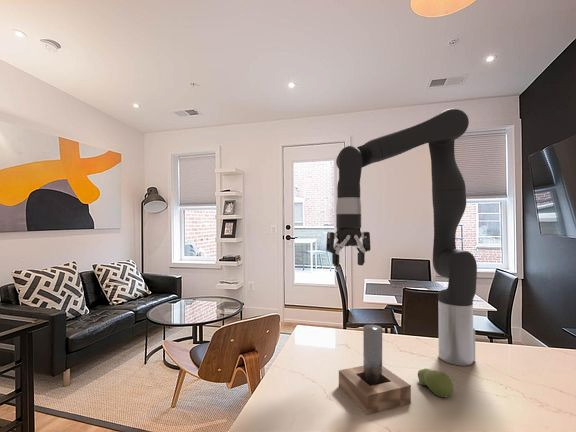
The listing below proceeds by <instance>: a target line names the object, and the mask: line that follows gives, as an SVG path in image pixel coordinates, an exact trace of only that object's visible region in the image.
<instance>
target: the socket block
mask: <svg viewBox="0 0 576 432" xmlns="http://www.w3.org/2000/svg"><path fill="white" fill-rule="evenodd" d="M338 388H339V389H341V390H342V391H343V393H345V394H346V395H347V396H348V397H349V398H350V399H351V401H353V402H354V404H356V406H358V407H359V408H360V409H361V411H363V412H364V413H365V415H370V414H373V413H378V412H381V411H385V410H389V409H393V408H396V407H401V406H403V405H408V404H411V402H412V398H411V397H412V385H411V384H410V383H408V382H407V381H405V380H404V379H403V378H401V377H399V376H398V375H396V373H393V371H391V370H389V369H388V368H387V367H385V366H383V365H382V384H378V385H373V386H369V385H368V384H367V383H366V382H365V381H364V380H363V365H360V366H355V367H349V368H344V369H339V370H338Z"/></svg>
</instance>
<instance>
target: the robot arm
mask: <svg viewBox="0 0 576 432" xmlns="http://www.w3.org/2000/svg"><path fill="white" fill-rule="evenodd" d="M469 122H470V120H469V117H468V114H466V113H465V112H464V110H462V109H459V108H449V109H445V110H443V111H442V112H439V114H436V115H434V116H433V117H431V118H429V119H427V120H425V121H422V122H420V123H417V124H415V125H413V126H410V127H406V128H404V129H401V130H398V131H395V132H392V133H388V134H384V135H383V136H378V137H377V138H374V139H370V140H368V141H367V142H366V143H364V144H362V145H358V146H353V145H346V147H344V148H342V149H341V150H340V151H339V153H338V155H337V156H336V159H335V160H336V162H335V165H336V167H337V169H338V182H337V187H336V191H337V192H336V193H337V194H336V197H337V198H336V209H335V211H336V212H335V213H336V214H335V215H336V216H335V217H336V220H335V223H336V227H335V228H336V232H333V231H327V233H326V249H325V250H326V252H329V253H331V254H332V255H331V261H332V262H331V263H332V265H333V266H334V267H336V268H339V267H340V254H339V253H340V252H341V251H342V249H343V248H344V247H349V246H350V247H354V249H356V251H357V265H358V266H364V264H365V262H366V261H365V258H366V255H365V254H366V253H367V252H370V251H371V233H370V232H369V231H361V228H362V200H361V178H362V177H361V176H362V170H363V168H364V167H367V166H369V165H371V164H374V163H379V162H381V161H385V160H388V159H391V158H393V157H396V156H399V155H401V154H404V153H406V152H409V151H410V150H412V149H416V148H417V147H420V146H423V145H425V144H428V148H429V155H430V163H431V164H430V165H431V167H430V169H431V170H430V171H431V199H432V209H433V210H432V211H433V245H432V266H433V269H434V272H435V273H436V275H439V276H440V277H442V278H446V279H448V283H447V288H445V289H441V290H439V292H438V306H437V307H438V308H437V309H438V358H440V360H442V361H443V362H446V363H448V364H451V365H454V366H455V365H457V366H464V367H465V366H471V365H473V363H474V362H475V361H476V329H475V327H474V298H475V295H476V291H477V281H478V280H477V278H478V265H477V260H476V258H475V256H474V254H472V253H471V252H470V251H468V250H464V249H457V245H456V235H457V234H456V233H457V229H458V227H459V224H460V222H461V220H462V219H463V218H462V217H463V215H464V213H465V211H466V208H467V192H466V190H467V189H466V183H465V179H464V177H463V174H462V172H461V170H460V169H459V167H458V164H457V161H456V156H455V141H456V140H457V139H459V138H461V136H463V134H465V133H466V131H467V129H468V127H469V125H470V123H469ZM335 239H337V240H336V242H335ZM360 239H361V240H362V241H361V240H360Z"/></svg>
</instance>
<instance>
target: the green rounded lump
mask: <svg viewBox="0 0 576 432" xmlns="http://www.w3.org/2000/svg"><path fill="white" fill-rule="evenodd" d="M417 379H418V383H419V385H421V386H427V387H428V388H429V390H430V391H432V393H433V394H435V395H436V396H438V397H440V398H448V397H450V396H452V395H453V393H454V391H455V383H454V381H453V378H451V376H450V375H448V374H447V373H445V372H443V371H441V370H435V369H429V368H423V369H420V370H418V371H417Z"/></svg>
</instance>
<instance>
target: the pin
mask: <svg viewBox="0 0 576 432" xmlns="http://www.w3.org/2000/svg"><path fill="white" fill-rule="evenodd" d="M362 331H363V341H362V343H363V344H362V345H363V350H362V351H363V359H362V360H363V365H362V366H363V380H364V381H365V382H366V383H367V384H368V385H369V386H373V385H378V384H382V366H383V328H382V326H380V325H377V324H366V325H363V330H362Z"/></svg>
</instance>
